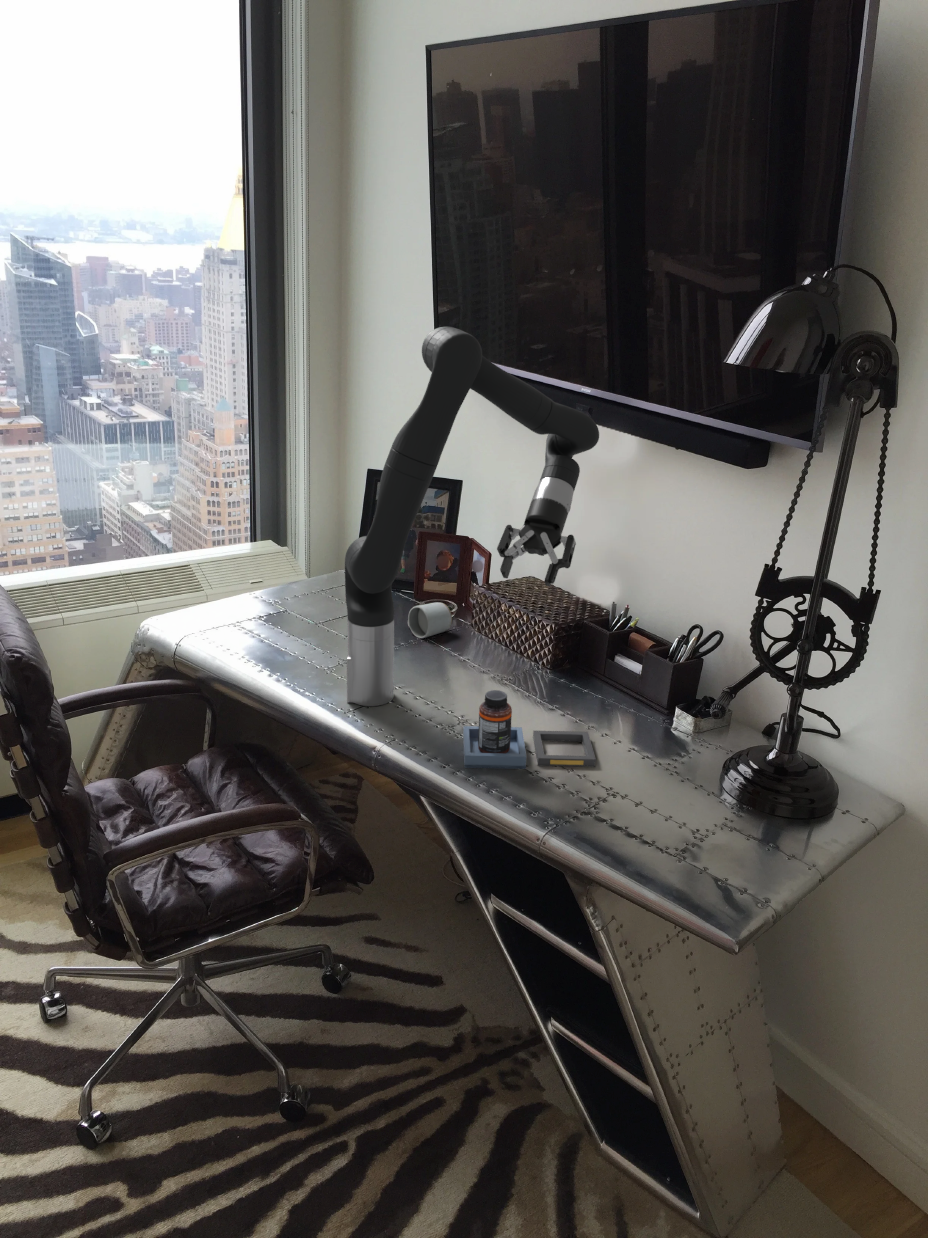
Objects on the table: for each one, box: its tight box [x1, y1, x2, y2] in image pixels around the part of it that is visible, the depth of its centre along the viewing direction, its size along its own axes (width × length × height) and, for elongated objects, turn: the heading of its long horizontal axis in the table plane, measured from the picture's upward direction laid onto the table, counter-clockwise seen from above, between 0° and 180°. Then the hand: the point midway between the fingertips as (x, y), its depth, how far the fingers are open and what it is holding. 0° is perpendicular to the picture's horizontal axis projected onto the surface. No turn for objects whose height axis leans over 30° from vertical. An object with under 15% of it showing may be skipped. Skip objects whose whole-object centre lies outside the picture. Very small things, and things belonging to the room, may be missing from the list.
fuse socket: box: [532, 730, 597, 768], centre depth 184 cm, size 10×10×2 cm
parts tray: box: [462, 725, 527, 770], centre depth 182 cm, size 11×11×2 cm
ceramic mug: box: [407, 601, 453, 639], centre depth 234 cm, size 11×8×8 cm
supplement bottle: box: [478, 689, 513, 754], centre depth 180 cm, size 6×6×11 cm
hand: (525, 580), depth 186 cm, fingers open, 8 cm apart
